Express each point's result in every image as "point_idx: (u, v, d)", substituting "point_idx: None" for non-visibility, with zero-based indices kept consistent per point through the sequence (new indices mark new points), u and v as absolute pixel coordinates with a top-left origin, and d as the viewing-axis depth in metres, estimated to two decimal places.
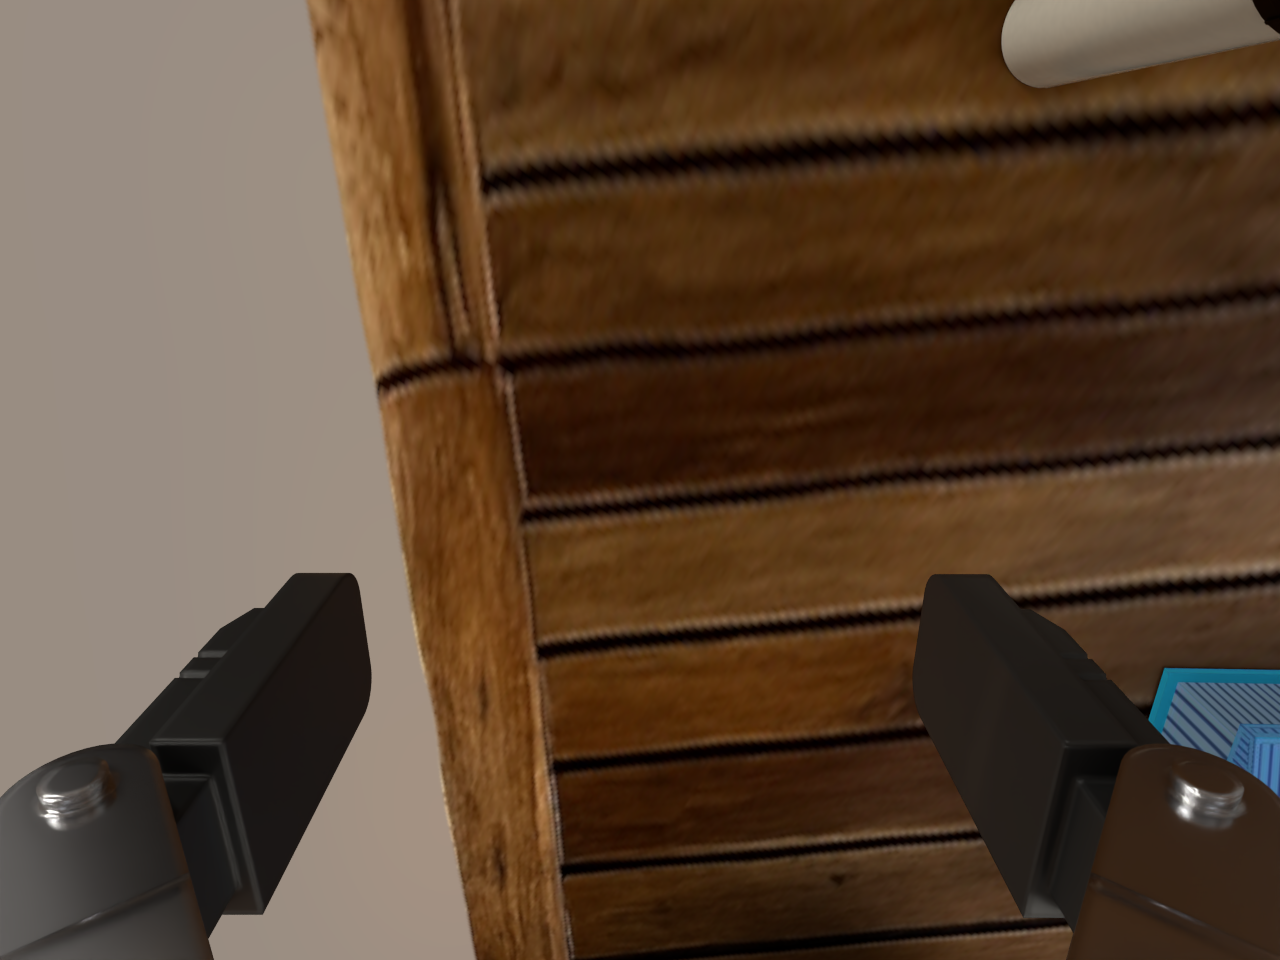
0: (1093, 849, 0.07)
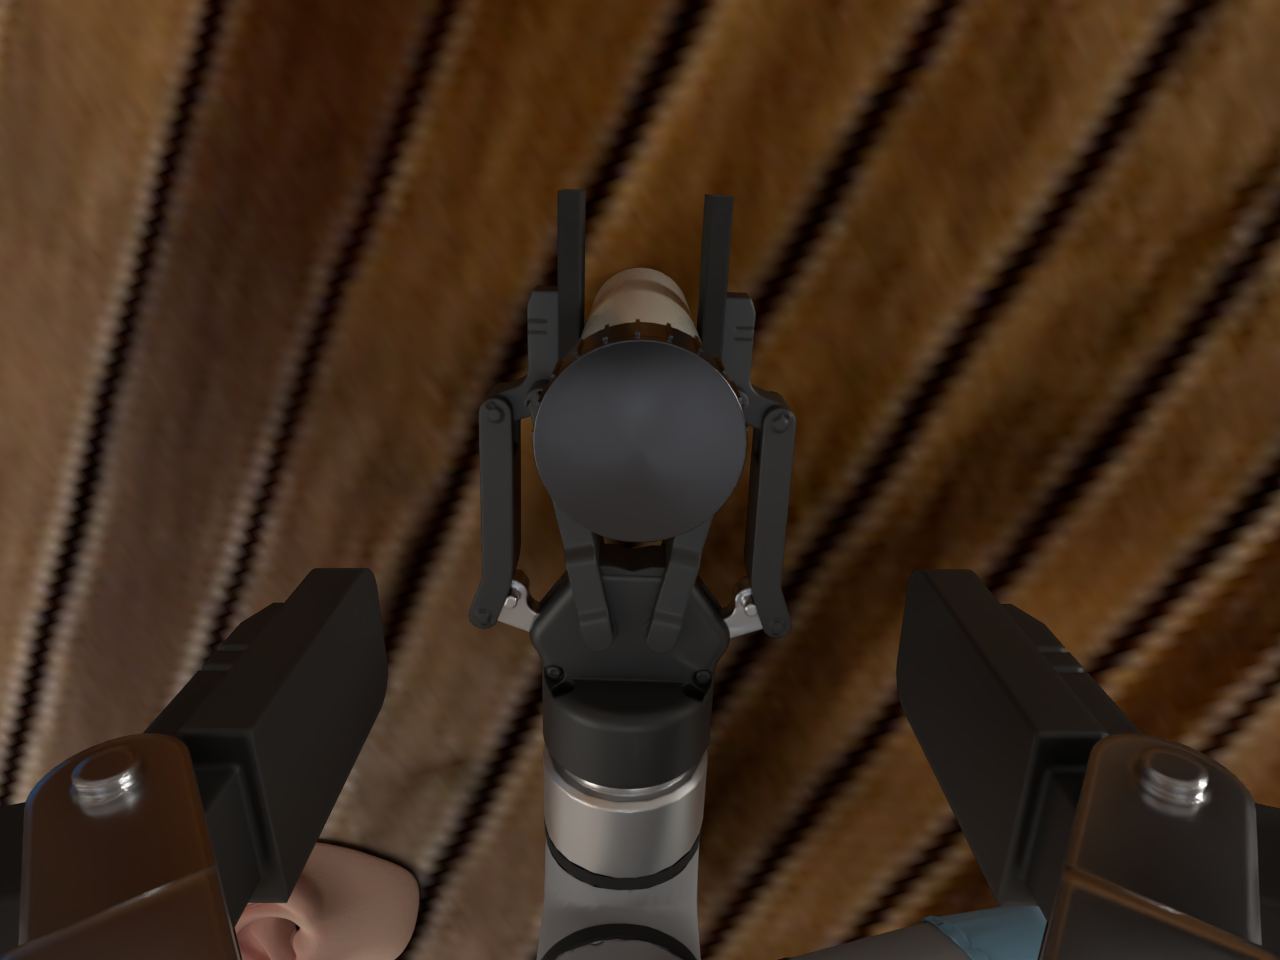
0: (1064, 837, 0.07)
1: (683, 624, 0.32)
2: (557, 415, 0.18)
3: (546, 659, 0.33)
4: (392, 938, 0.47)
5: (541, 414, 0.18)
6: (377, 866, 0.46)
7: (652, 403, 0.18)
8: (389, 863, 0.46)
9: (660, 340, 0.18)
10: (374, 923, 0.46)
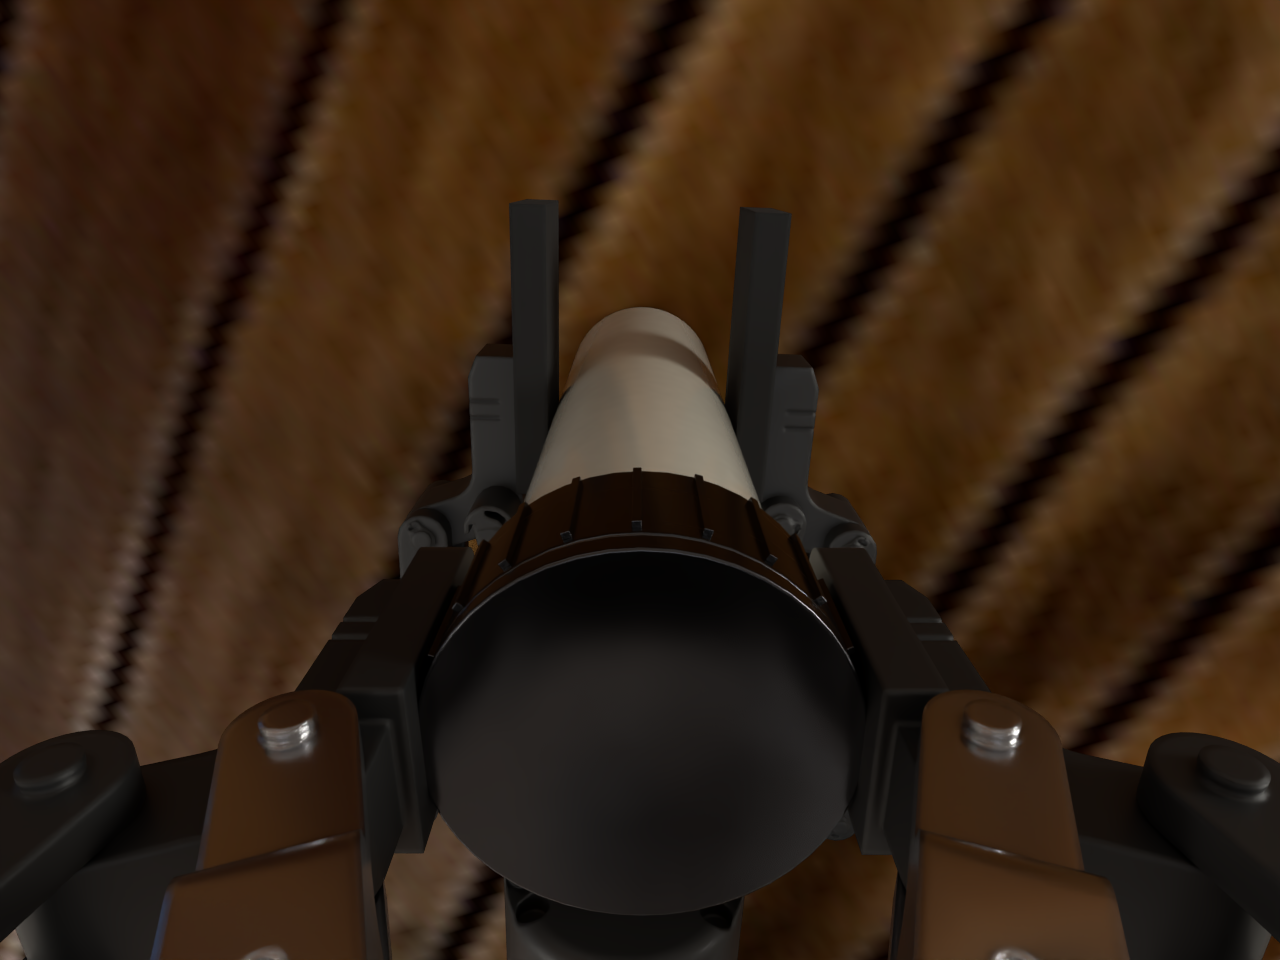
0: (906, 785, 0.08)
1: None
2: (465, 696, 0.09)
3: None
4: None
5: (431, 693, 0.09)
6: None
7: (668, 673, 0.08)
8: None
9: (687, 548, 0.08)
10: None
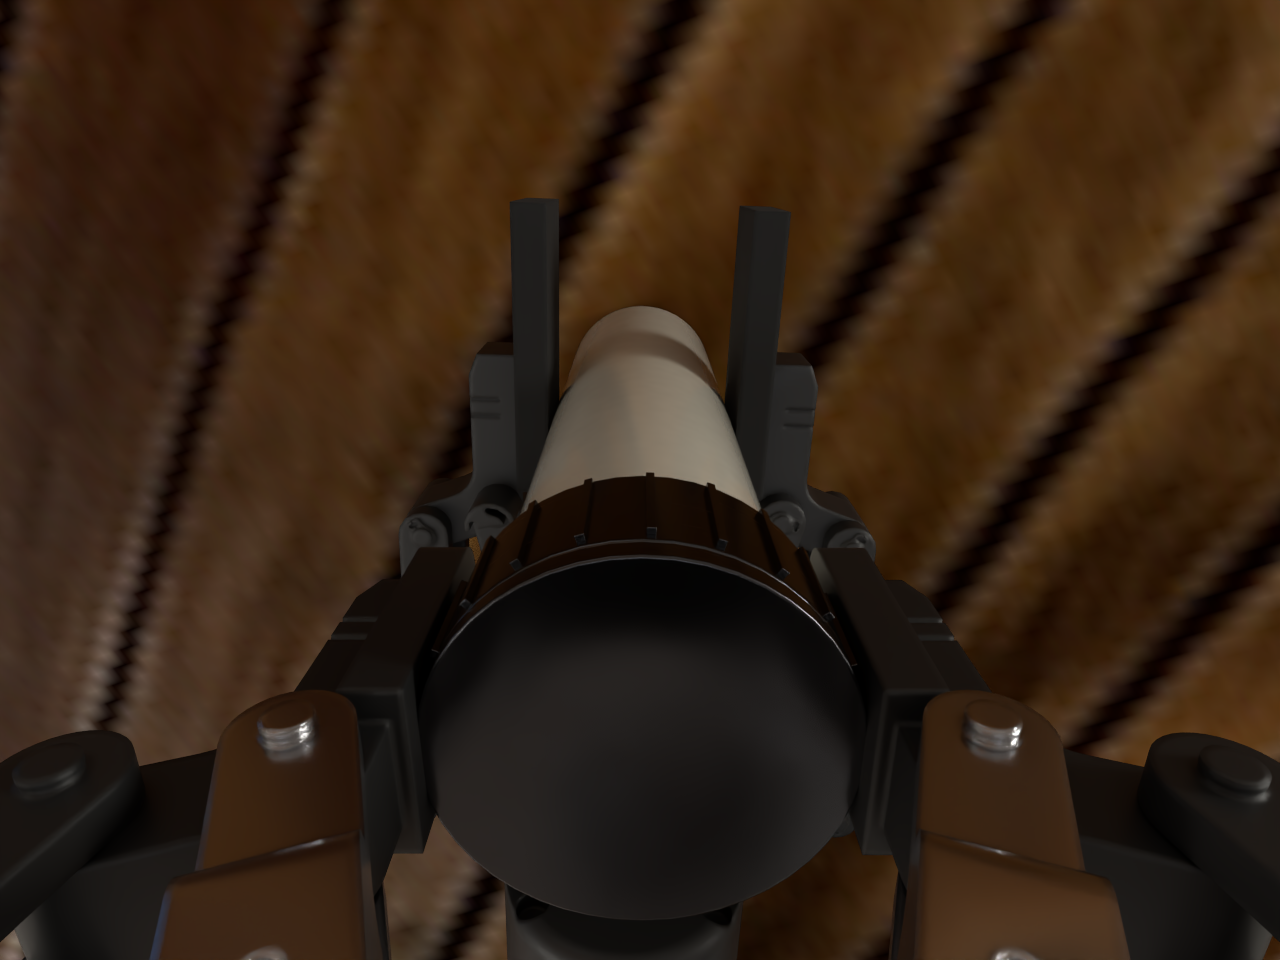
0: (907, 785, 0.08)
1: None
2: (558, 877, 0.10)
3: None
4: None
5: (553, 898, 0.10)
6: None
7: (551, 726, 0.09)
8: None
9: (422, 693, 0.09)
10: None
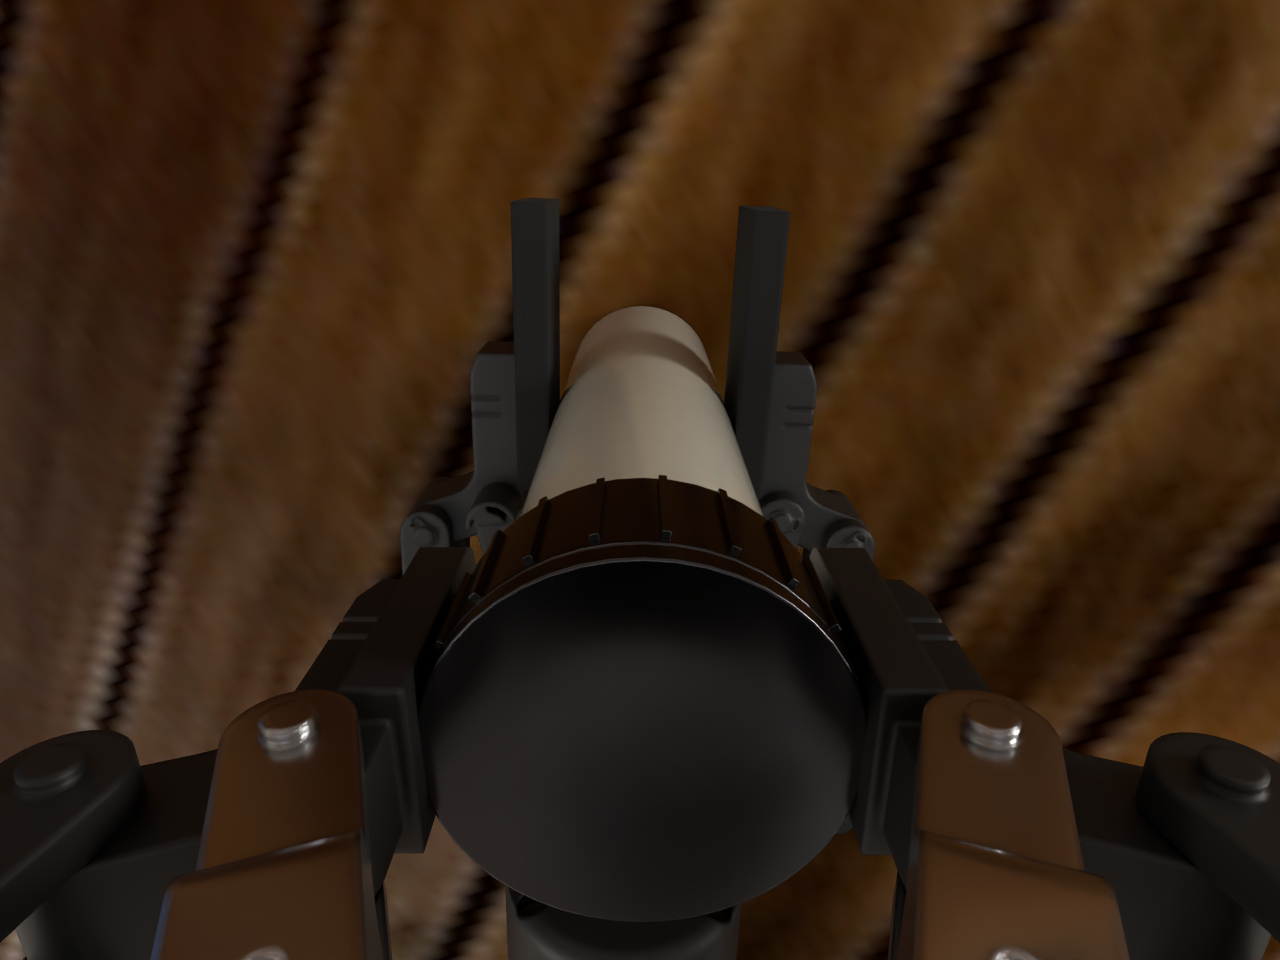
0: (906, 785, 0.08)
1: None
2: (781, 844, 0.09)
3: None
4: None
5: (810, 850, 0.09)
6: None
7: (594, 823, 0.09)
8: None
9: None
10: None
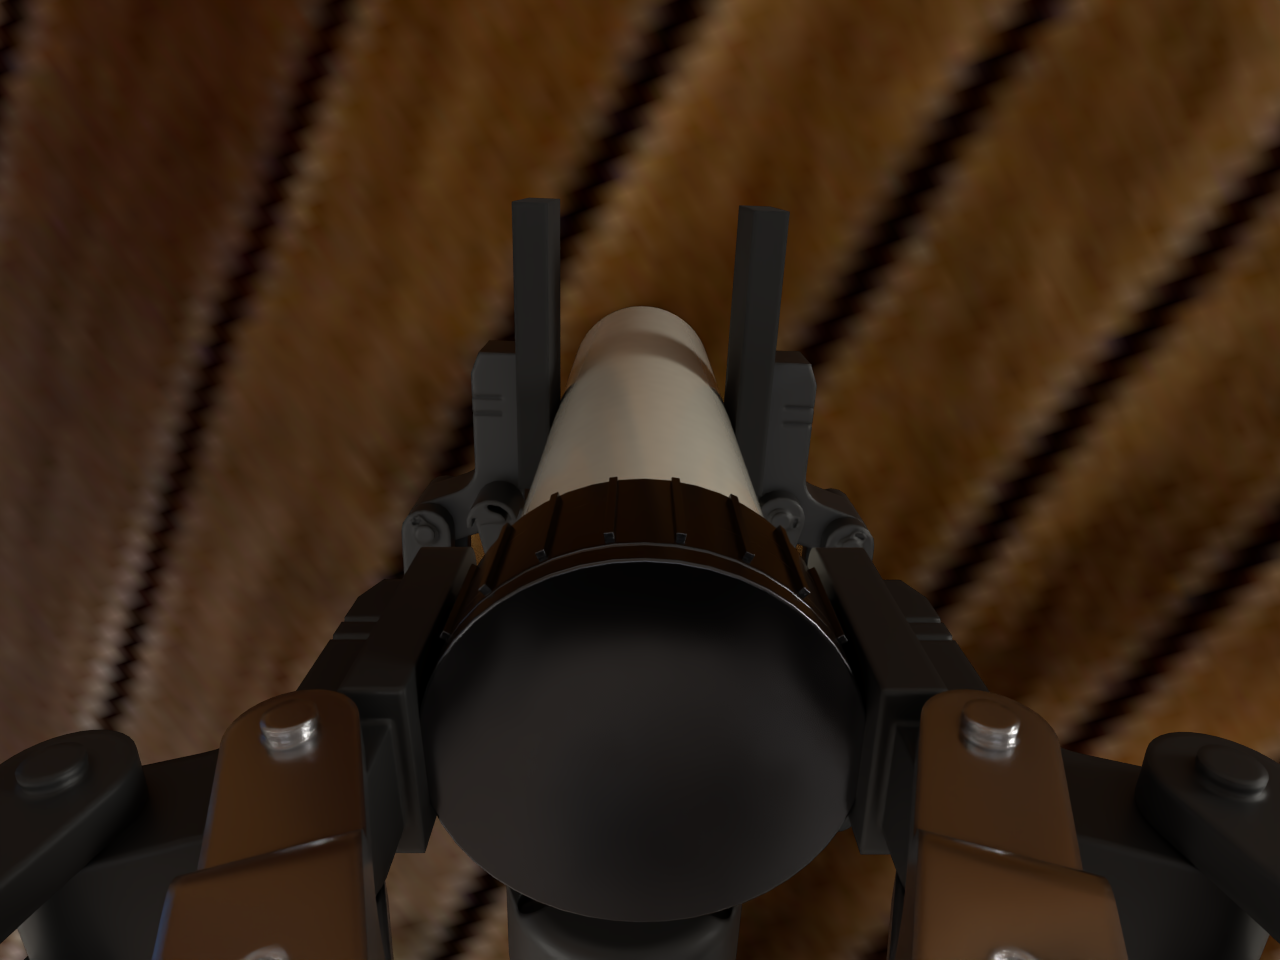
0: (905, 785, 0.08)
1: None
2: (780, 649, 0.08)
3: None
4: None
5: (797, 620, 0.08)
6: None
7: (715, 807, 0.09)
8: None
9: None
10: None
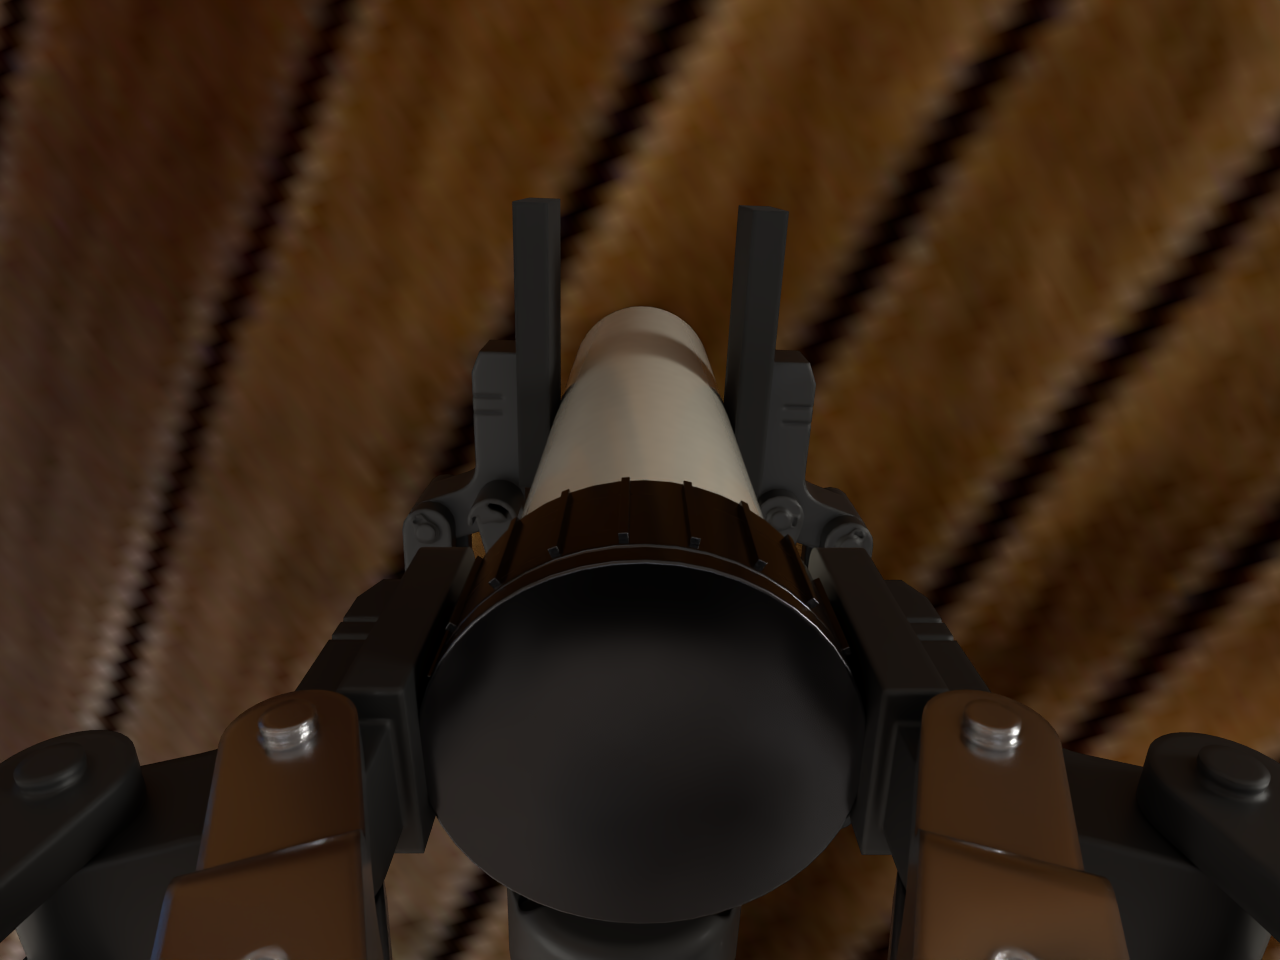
0: (906, 785, 0.08)
1: None
2: (522, 637, 0.08)
3: None
4: None
5: (491, 618, 0.08)
6: None
7: (714, 707, 0.09)
8: None
9: (802, 611, 0.08)
10: None
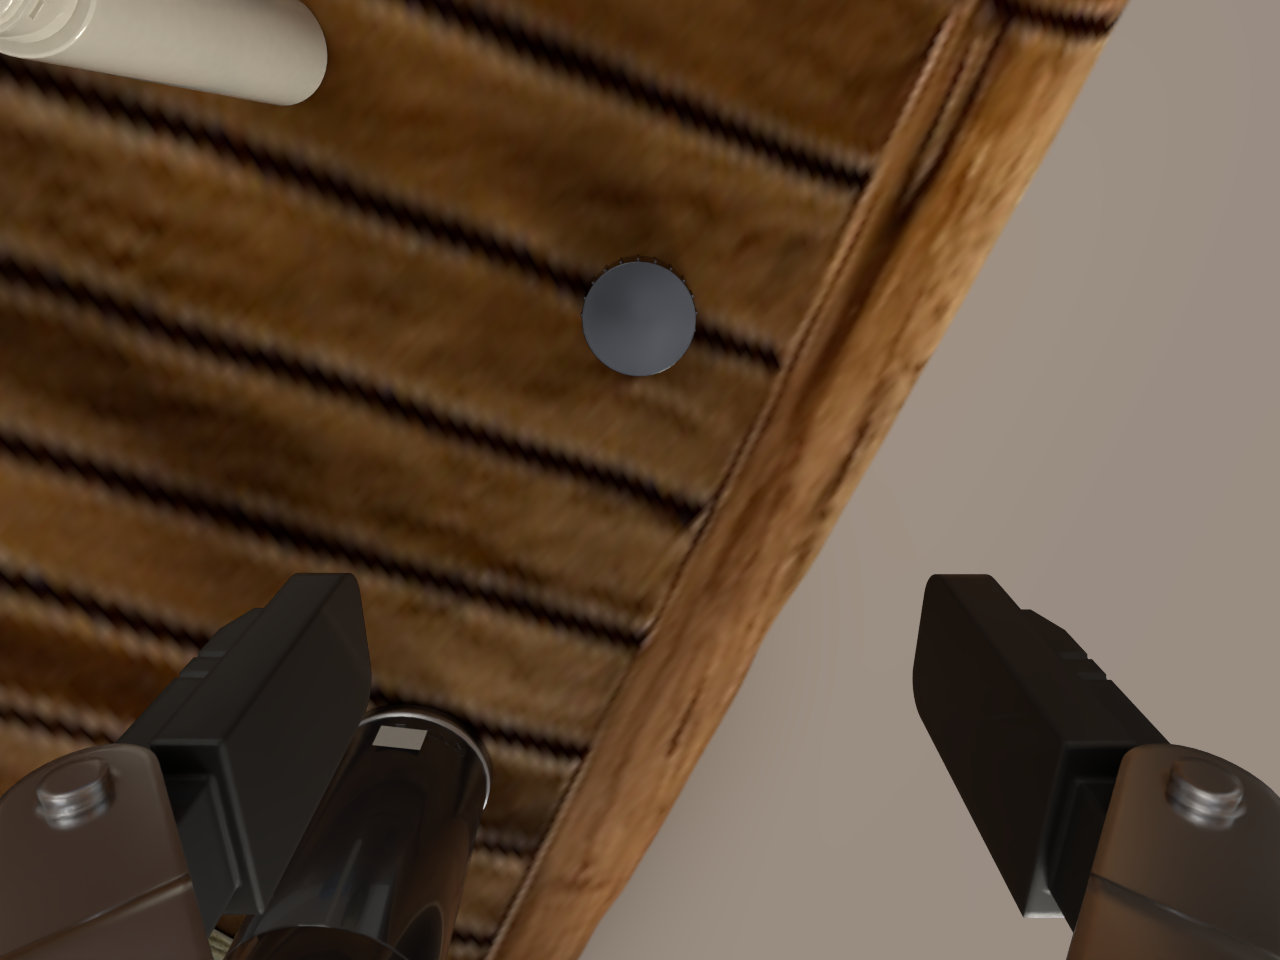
0: (1093, 849, 0.07)
1: None
2: (599, 343, 0.35)
3: None
4: None
5: (593, 349, 0.35)
6: None
7: (624, 300, 0.35)
8: None
9: (601, 275, 0.34)
10: None
